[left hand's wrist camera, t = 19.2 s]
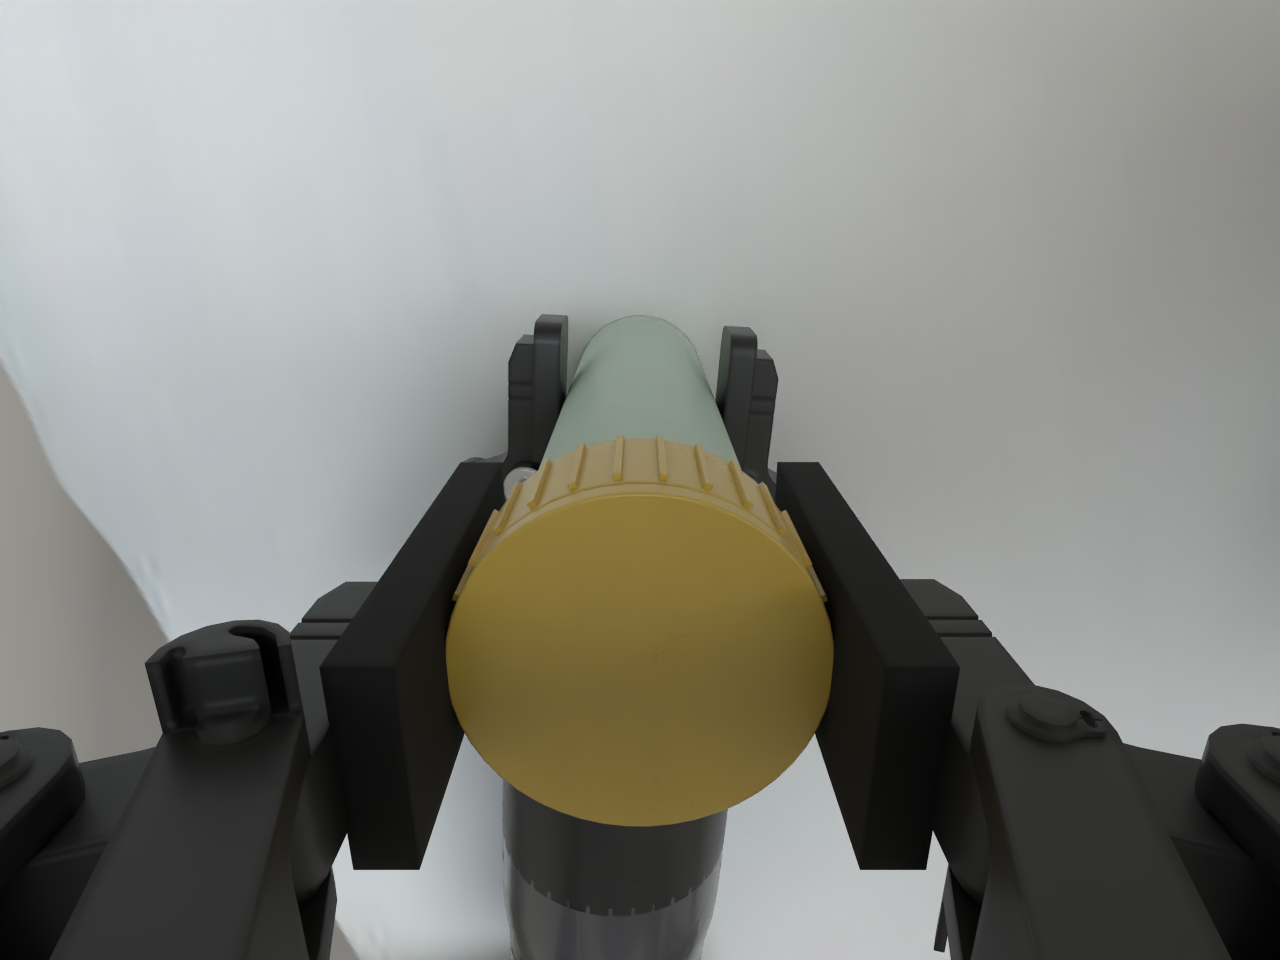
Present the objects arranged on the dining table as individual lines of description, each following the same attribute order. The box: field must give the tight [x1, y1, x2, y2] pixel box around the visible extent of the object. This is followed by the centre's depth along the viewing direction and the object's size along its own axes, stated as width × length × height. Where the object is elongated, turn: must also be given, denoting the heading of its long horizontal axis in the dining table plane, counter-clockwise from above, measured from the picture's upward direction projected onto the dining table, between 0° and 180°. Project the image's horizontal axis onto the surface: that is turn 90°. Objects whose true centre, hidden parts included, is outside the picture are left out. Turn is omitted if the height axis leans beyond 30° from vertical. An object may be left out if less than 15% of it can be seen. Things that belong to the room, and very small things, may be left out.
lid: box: [445, 435, 834, 826], centre depth 11 cm, size 5×5×2 cm
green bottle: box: [539, 316, 741, 470], centre depth 19 cm, size 4×4×17 cm
